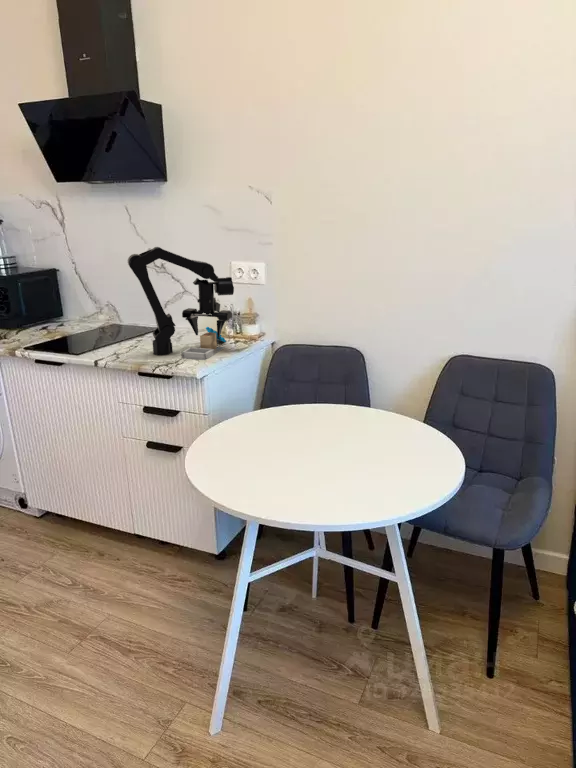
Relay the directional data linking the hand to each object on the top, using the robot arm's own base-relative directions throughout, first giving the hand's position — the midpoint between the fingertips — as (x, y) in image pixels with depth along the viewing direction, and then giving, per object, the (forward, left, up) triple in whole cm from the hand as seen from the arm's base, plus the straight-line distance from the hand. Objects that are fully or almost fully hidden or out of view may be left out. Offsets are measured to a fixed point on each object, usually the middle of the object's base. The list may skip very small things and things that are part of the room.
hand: (207, 335), depth 215 cm
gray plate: (-4, -3, -6) cm, 8 cm away
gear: (+11, +9, -7) cm, 16 cm away
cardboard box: (0, 0, -5) cm, 5 cm away
